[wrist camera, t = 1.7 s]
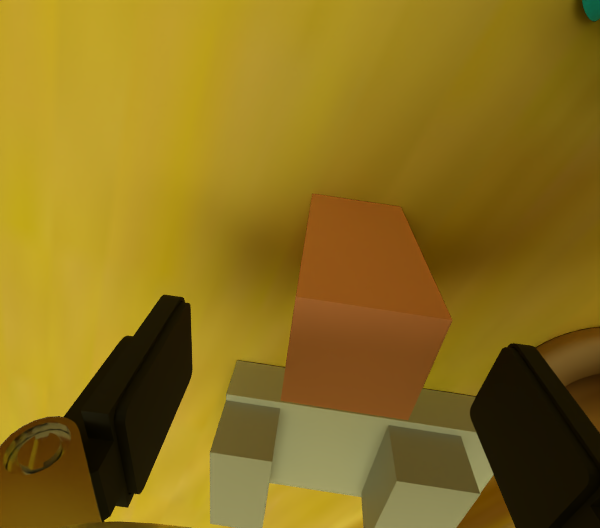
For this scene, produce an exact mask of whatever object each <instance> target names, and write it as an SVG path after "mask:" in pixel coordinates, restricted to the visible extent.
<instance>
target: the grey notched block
mask: <svg viewBox="0 0 600 528" xmlns="http://www.w3.org/2000/svg"><path fill="white" fill-rule="evenodd" d="M284 374H285V368H284V367H277V366H271V365H264V364H258V363H251V362H245V361H238V360H237V363H236V366H235V369H234V372H233V375H232V378H231V382H230V385H229V388H228V391H227V394H226V403H225V406H224V409H223V412H222V416H221V419H220V422H219V425H218V428H217V431H216V435H215V438H214V441H213V444H212V447H211V451H210V524H216V525H222V526H229V527H235V528H262V527H263V520H264V514H265V507H266V500H267V494H268V487H269V483H274V484H281V485H287V486H294V487H300V488H307V489H313V490H320V491H326V492H333V493H339V494H345V495H352V496H358V497H362V510H363V526H364V528H456V527H457V526H458V524H459V523H460V522H461V520H462V519H463V517H464V516H465V515H466V513H467V512H468V511H469V509H470V508H471V506H472V505H473V504H474V502H475V501H476V499H477V498H478V497H479V495H480V493H481V491H482V490H483V489H484V487H485V486H486V484H487V483H488V482H489V480H490V479H491V477H492V476H493V475H494V474H493V472H492V469H491V467H490V464H489V462H488V459H487V457H486V455H485V452H484V450H483V447H482V445H481V443H480V440H479V438H478V435H477V433H476V431H475V428H474V426H473V423H472V421H471V418H470V408H471V405H472V404H473V402H474V400H475V398H476V397H474V396H468V395H461V394H455V393H448V392H442V391H435V390H428V389H422V390H421V393H420V395H419V397H418V399H417V402H416V404H415V406H414V409H413V411H412V413H411V415H410V418H409V420H403V419H396V418H390V417H383V416H377V415H370V414H364V413H357V412H351V411H344V410H338V409H331V408H325V407H318V406H312V405H305V404H299V403H292V402H286V401H281V394H282V387H283V381H284Z"/></svg>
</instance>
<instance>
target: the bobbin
mask: <svg viewBox="0 0 600 528" xmlns="http://www.w3.org/2000/svg"><path fill="white" fill-rule="evenodd" d="M536 349H537V350H538V351H539V353H540V354H541V355H542V357H543V358H544V359H545V361H546V362H547V363H548V365H549V366H550V367H551V369H552V370H553V371H554V373H555V374H556V375H557V377H558V378H559V379H560V381H561V382H562V383H563V385H564V386H565V387H566V389H567V390H568V391H569V393H570V394H571V395H572V397H573V398H574V399H575V401H576V402H577V403H578V405H579V406H580V407H581V409H582V410H583V411H584V413H585V414H586V415H587V417H588V418H589V419H590V421H591V422H592V423H593V425H594V426H595V427H596V429H597V430H598V431H599V433H600V327H597V328H590V329H584V330H579V331H575V332H572V333H568V334H565V335H562V336H560V337H557V338H554V339H552V340H550V341H548V342H546V343H544V344H542V345H540V346H538V347H537V348H536Z"/></svg>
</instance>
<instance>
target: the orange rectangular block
mask: <svg viewBox="0 0 600 528" xmlns="http://www.w3.org/2000/svg"><path fill="white" fill-rule="evenodd" d="M451 322H452V318H451V316H450V314H449V312H448V310H447V307H446V305H445V303H444V301H443V299H442V296H441V294H440V292H439V290H438V288H437V285H436V283H435V281H434V279H433V277H432V274H431V272H430V270H429V268H428V266H427V263H426V261H425V259H424V257H423V255H422V252H421V250H420V248H419V246H418V244H417V241H416V239H415V237H414V235H413V233H412V230H411V228H410V226H409V224H408V222H407V219H406V217H405V215H404V213H403V211H402V208H401V207H399V206H393V205H386V204H379V203H372V202H366V201H359V200H352V199H346V198H339V197H332V196H325V195H319V194H312V199H311V205H310V211H309V217H308V224H307V230H306V236H305V242H304V249H303V255H302V261H301V267H300V274H299V280H298V286H297V292H296V299H295V306H294V312H293V319H292V326H291V333H290V340H289V347H288V353H287V360H286V367H285V374H284V381H283V387H282V394H281V401H286V402H292V403H299V404H305V405H312V406H318V407H325V408H331V409H338V410H344V411H351V412H357V413H364V414H370V415H377V416H383V417H390V418H396V419H403V420H409V418H410V415H411V413H412V411H413V409H414V406H415V404H416V402H417V399H418V397H419V395H420V393H421V390H422V388H423V386H424V384H425V381H426V379H427V377H428V375H429V372H430V370H431V368H432V365H433V363H434V361H435V359H436V356H437V354H438V352H439V350H440V347H441V345H442V343H443V340H444V338H445V336H446V334H447V331H448V329H449V327H450V325H451Z"/></svg>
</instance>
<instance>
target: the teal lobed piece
mask: <svg viewBox="0 0 600 528" xmlns="http://www.w3.org/2000/svg"><path fill="white" fill-rule="evenodd" d="M582 3H583V8H584V11H585V13H586V15H587V16H588V18H589V19H590V20H592V21H597V20H598V19H600V0H582Z"/></svg>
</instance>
